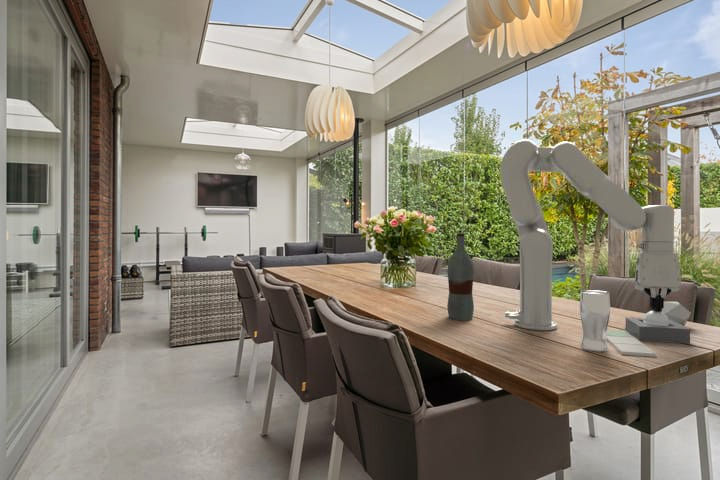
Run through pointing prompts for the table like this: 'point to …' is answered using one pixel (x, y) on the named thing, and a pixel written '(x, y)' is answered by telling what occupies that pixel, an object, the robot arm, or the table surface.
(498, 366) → the table surface
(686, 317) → the die
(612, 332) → the coaster
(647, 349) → the coaster
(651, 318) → the dome
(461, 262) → the bottle
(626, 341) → the coaster
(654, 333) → the box
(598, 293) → the beer glass
